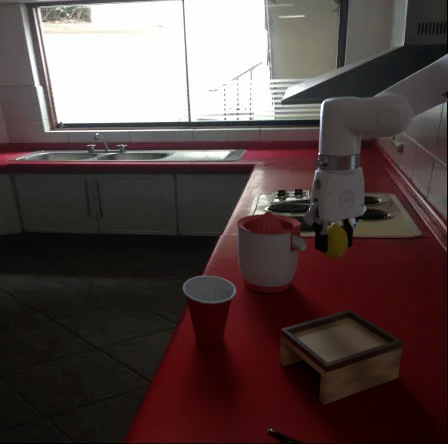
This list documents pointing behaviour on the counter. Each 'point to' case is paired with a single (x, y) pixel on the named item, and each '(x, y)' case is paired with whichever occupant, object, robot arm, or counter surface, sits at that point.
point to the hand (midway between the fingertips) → (333, 247)
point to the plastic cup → (209, 306)
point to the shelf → (343, 353)
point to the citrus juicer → (268, 251)
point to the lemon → (336, 241)
